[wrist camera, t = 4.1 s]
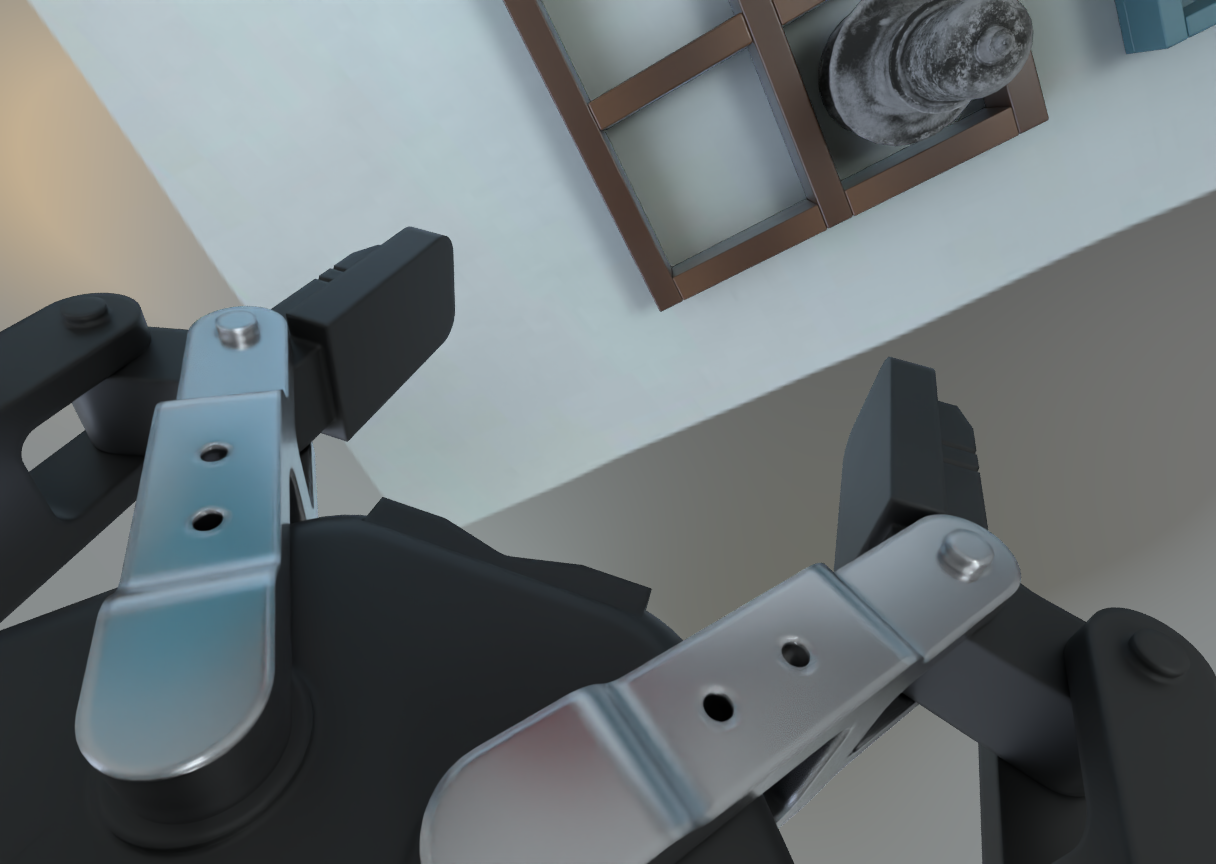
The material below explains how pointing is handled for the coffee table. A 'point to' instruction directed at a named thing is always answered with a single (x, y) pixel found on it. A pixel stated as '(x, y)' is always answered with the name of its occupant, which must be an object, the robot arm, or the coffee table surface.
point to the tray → (1162, 22)
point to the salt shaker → (919, 63)
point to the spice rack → (758, 26)
